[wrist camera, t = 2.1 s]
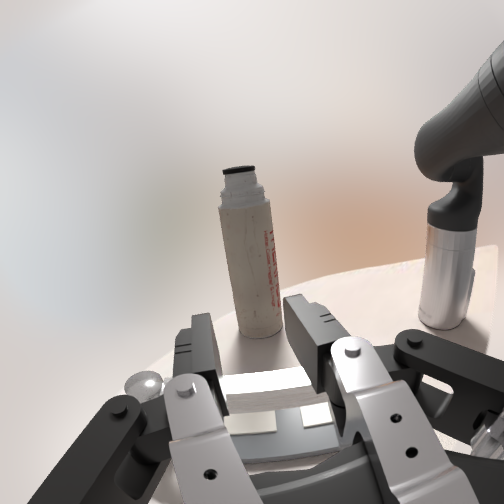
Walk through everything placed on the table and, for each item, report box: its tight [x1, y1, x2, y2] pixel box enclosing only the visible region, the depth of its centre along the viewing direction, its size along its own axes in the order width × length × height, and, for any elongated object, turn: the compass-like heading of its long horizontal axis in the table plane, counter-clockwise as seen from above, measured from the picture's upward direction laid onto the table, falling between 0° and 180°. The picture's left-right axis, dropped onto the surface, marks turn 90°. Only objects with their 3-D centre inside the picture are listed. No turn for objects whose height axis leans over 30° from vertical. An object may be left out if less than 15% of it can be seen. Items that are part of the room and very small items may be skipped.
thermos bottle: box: [218, 166, 283, 339], centre depth 45 cm, size 8×8×28 cm
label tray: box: [223, 402, 339, 464], centre depth 28 cm, size 20×12×2 cm, turn 91°
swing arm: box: [124, 367, 329, 414], centre depth 23 cm, size 22×4×4 cm, turn 91°
